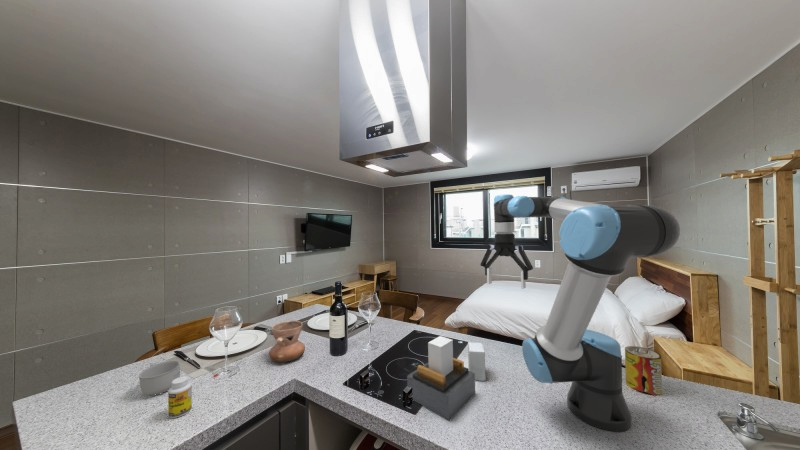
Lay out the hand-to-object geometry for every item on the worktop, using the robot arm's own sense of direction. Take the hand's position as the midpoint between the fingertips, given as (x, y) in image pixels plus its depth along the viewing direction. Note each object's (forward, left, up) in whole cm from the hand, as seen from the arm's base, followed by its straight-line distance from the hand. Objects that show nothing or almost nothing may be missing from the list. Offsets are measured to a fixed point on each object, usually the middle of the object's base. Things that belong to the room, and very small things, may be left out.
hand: (505, 285), depth 106 cm
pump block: (+9, +34, -24) cm, 42 cm away
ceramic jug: (+75, +56, -32) cm, 99 cm away
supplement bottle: (+65, +94, -32) cm, 119 cm away
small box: (+6, +15, -32) cm, 36 cm away
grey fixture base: (+9, +34, -32) cm, 47 cm away
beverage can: (-40, -15, -32) cm, 53 cm away
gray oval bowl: (+87, +97, -32) cm, 134 cm away
